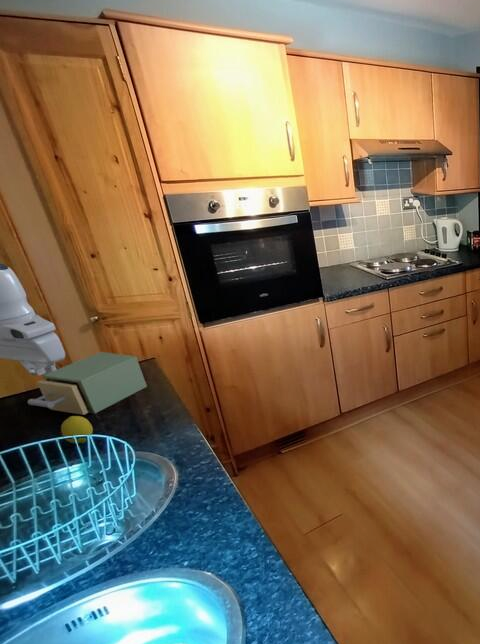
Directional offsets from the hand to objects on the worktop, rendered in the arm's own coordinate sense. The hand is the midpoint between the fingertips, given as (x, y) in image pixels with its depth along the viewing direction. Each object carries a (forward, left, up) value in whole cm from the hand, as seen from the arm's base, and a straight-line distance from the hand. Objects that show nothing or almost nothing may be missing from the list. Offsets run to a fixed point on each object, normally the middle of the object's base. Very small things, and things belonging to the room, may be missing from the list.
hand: (38, 374), depth 119 cm
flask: (-14, +10, -14) cm, 23 cm away
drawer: (0, +7, -13) cm, 15 cm away
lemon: (+18, -7, -14) cm, 24 cm away
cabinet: (0, +12, -14) cm, 19 cm away
